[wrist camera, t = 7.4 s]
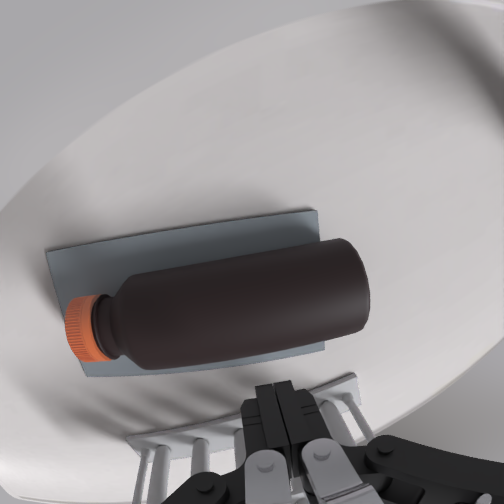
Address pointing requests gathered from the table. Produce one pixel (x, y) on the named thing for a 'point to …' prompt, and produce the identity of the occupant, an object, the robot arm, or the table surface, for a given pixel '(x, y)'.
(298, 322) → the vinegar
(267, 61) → the table surface
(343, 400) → the test tube rack
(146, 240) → the slate mat
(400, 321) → the table surface
